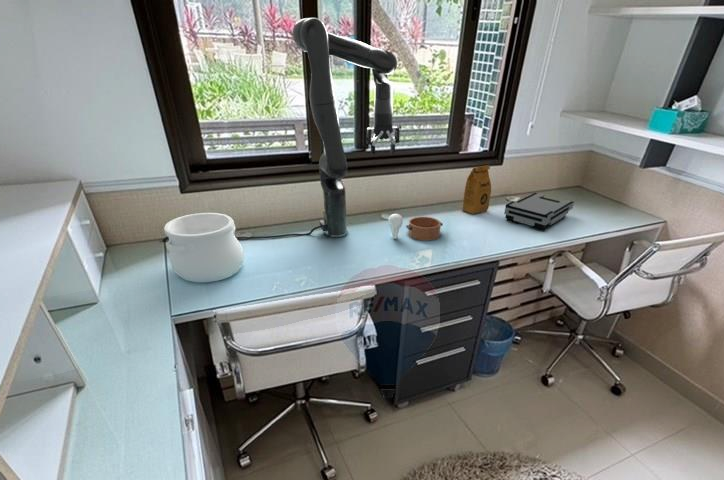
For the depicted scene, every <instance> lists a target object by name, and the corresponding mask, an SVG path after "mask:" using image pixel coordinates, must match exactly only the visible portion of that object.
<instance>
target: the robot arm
mask: <svg viewBox="0 0 724 480" xmlns="http://www.w3.org/2000/svg"><path fill="white" fill-rule="evenodd" d="M292 38H293V41H294V43H295V45H296V46H297V48H299V49H300V50H301V51H302V52H306V53H307V57H308V60H309V68H310V84H309V102H310V103H309V104H310V109H311V115H312V118H313V121H314V124H315V126H316V129H317V131H318V133H319V135H320V138H321V140H322V143H323V148H324V153H322V155H320V158H319V161H318V162H319V163H318V171H319V181H320V186H321V187H320V188H321V189H322V195H323V212H322V216H323V219H322V220H319V225H317V226H314V228H312V229H311V230H310V231H309V232H306V233H285V234H284V233H283V234H276V235H263V236H261V235H260V236H235V237H236V239H237V240H247V239H248V240H256V239H274V238H281V237H282V238H283V237H290V236H291V237H293V236H298V237H299V236H309V235H311V234H312V233H314V231H315V230H317V229H321V231H322V232H324V233H325V235H326V236H327V237H328V238H342V237H346V235H347V234H348V228H347V227H348V226H347V225H348V223H347V200H346V199H347V198H346V197H347V196H346V187H345V185H344V183H343V181H342V179H343V178H344V177H345V176H346V175H347V173H348V163H347V162H348V161H347V158H346V153H345V150H344V145H343V141H342V136H341V128H340V122H339V115H338V107H337V101H336V96H335V90H334V89H335V88H334V82H333V76H332V70H331V58H330V56H332V57H335V58H337V59H340V60H343V61H346V62H348V63H350V64H354V65H356V66H359V67H362V68H366V69H371V73H372V74H371V75H372V78H373V80H372V81H373V84H374V103H373V110H374V111H373V128H371V127H367V128H366V133H365V134H366V137H365V143H366V144H367V145H369V146H370V154H371V155H372V156H376V144H377V142H379V141H380V140H388V141H389V142H390V148H389V149H390V151H389V152H390V154H391V155H394V153H395V152H396V144H399V143H400V141H401V139H400V138H401V137H400V136H401V135H400V127H398V126H393V114H394V113H393V112H394V103H393V102H394V101H393V91H394V90H393V89H394V88H393V84H392V82H391V81H389V78H388V75H392V74H393V73H394V72H395V71H396V70H397V67H398V59H397V57H396V55H395V54H394V53H393V52H392V51H389V50H386V49H382V48H378V47H373V46H371V45H369V44H367V43H365V42H362V41H359V40H356V39H353V38H349V37H345V36H339V35H336V34H334V33H330V32H328V31H327V28H326V25H325V24H324V23H323V21H322V20H321V19H320V18H317V17H305V18H301V19H299V20H297V21H296V22H295V24H294V26H293V28H292ZM373 133H374V135H373ZM392 133H394V137H393V136H392ZM372 135H373V136H372ZM166 240H169V237H168V236H165V237H163V239H162V242H166Z"/></svg>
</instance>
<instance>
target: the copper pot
mask: <svg viewBox="0 0 724 480" xmlns="http://www.w3.org/2000/svg"><path fill="white" fill-rule="evenodd" d="M443 224H444V223H443V222H441V221H440V220H438V219H437V218H434V217H430V216H415V217H413V218H410V219H409V220H408V225H405V227H406V229H407V230H408V231H407V232H408V236H409V237H410V238H412V239H414V240H419V241H433V240H436V239H439V237H440V236H441V228H442V226H443Z"/></svg>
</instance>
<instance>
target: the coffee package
mask: <svg viewBox="0 0 724 480" xmlns="http://www.w3.org/2000/svg"><path fill="white" fill-rule="evenodd" d="M490 169H491V166H490V164H488V165H481V166H476V167H473V168H472V170H471V171H470V173H469V175H468V176H467V178H466V182H465V187H464V191H463V199H462V200H463V201H462V209H461V210H462V212H466V213H469V214H472V215H474V214H479V213H483V212H487V211H488V210H489V207H490V200H491V194H492V183H491V178H490V173H489V170H490Z"/></svg>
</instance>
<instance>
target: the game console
mask: <svg viewBox="0 0 724 480" xmlns="http://www.w3.org/2000/svg"><path fill="white" fill-rule="evenodd" d="M574 204H575V201H572V200H568V199H562V200H557V199H552V198H548V197H545V194H542V193H538V192H534V193H531V194H529V195H527V196H525V197H523V198H521V199H518V200H517V201H511V202H508V203H506V204H505V208H504V212H503V213H504V214H503V215H505V218H504V219H506V221H507V222H509V223H513V224H515V225H516V224H520V223H521V224H525V225H528V226H531V229H535V230H538V231H542V232H545V231H546V230H548V229H551V228H552V227H553V226H554V225H556V224H557V223H559V222H561V221H563V220H564V219H565V218H566V216H567V214H568V213H569V212H570V211H571V210H572V209H573V208H574Z"/></svg>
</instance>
